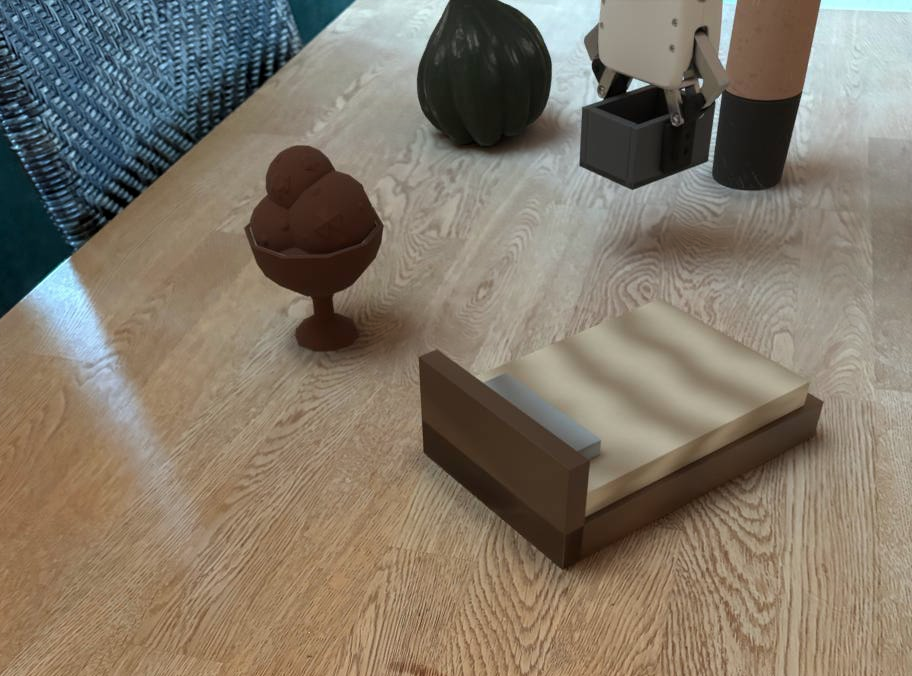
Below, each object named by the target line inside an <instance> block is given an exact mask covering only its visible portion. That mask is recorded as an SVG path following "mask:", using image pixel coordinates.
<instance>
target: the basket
mask: <svg viewBox="0 0 912 676" xmlns="http://www.w3.org/2000/svg"><path fill="white" fill-rule="evenodd" d="M628 91H629V92H628ZM628 91H627V92H626V93H623V94H620V95H617V96H614V97H611V98H608V99H605V100H603V99H601V100H599V101H595V102H592V103H590V104H587V105H584V106H582V107H581V123H580V141H579V142H580V143H579V144H580V145H579V164H578V165H579V167H580V168H582V169H584V170H587V171H589V172H591V173H594V174H596V175H598V176H600V177H602V178H604V179H607V180H609V181H611V182H613V183H616V184H618V185H620V186H622V187H624V188H626V189H629V190H631V191H634V190H637V189H640V188H642V187H644V186H647V185H650V184H653V183H655V182H658V181H661V180H663V179H666V178H669V177H671V176H674V175H677V174H679V173H681V172H684V171H687V170H690V169H692V168H695V167H697V166H701V165H703V164H705V163H708V162H709V159H710V158H709V157H710V155H709V154H710V149H711V142H712V133H713V127H714V120H715V113H716V112H715V111H716V104H717V102H716V101H715V103H714V104H713V105H712V106H711V107H710V108H709V109H708V110H707V111H706V112H705V113H704V116H703V117H702V118H700V119H697V120H696V128H695V136H694V144H693V152H692V160H691V163H690V165H689V166H687V167H685V168H682V169H679V170H677V171H674V172H671V173H669V174H664V173H662V172H661V171H660V162H661V152H662V143H663V133H664V127H665V124H668V123H671V121H670V116H669V111H668V107H667V102H666V98H665V93H664V89H663V88H659V87H656V86H653V85H651V84H647V85H644V86H641V87H638V88H635V89H632V90H628ZM680 95H681V99H682V104H683V105H684V104H685V103H686V102H687V98H686V93H685V89H681V90H680Z"/></svg>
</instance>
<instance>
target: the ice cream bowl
mask: <svg viewBox="0 0 912 676" xmlns="http://www.w3.org/2000/svg"><path fill="white" fill-rule="evenodd" d="M265 191H266V195H265V196H264V197H263V198H262V199H261V200H260V201H259V202H258V203H257V205H255V207H254V208H253V209H252V213H251V216H250V219H249V222H248V223H247V224H246V225H245V226H244V227H243V230H244V232H245V237H246V238H247V241H248V244H249V246H250V249H251V253H252V255H253V257H254V261H255V263H256V265H257V266H258V267H259V270H260V271H261V272H262V273H263V275H264V277H266V278H267V279H269V280H270V281H272V282H273V283H274V284H276V285H277V286H279V287H280V288H284V289H286V290H289V291H291V292H294V293H297V294H299V295H302V296H305V297H310V299H311V300H312V307H313V308H312V309H313V314H312V315H310V316H308V317H306V318H304V319H303V320H302V321H301V322H300V323H299V324H298V326H297V327H296V328H295V332H294V337H295V340H296V343H297V344H298V346H300V347H303V348H306V349H308V350H310V351H313V352H327V351H331V352H334V351H335V350H336V351H337V350H339V349H342V348H344V347H347V346H349V345H352V344H353V342H354V341H355V340H356V339H357V337H358V336H359V335H360V332H359V330H358V328H357V326H356V323H355V321H354V320H353V318H352V317H349V316H346V315H344V314H341V313H339V312H335V306H334V305H335V304H334V300H333V299H334V296H335V294H337V293H340V292H343V291H345V290H347V289H348V288H351V287H352V286H353V285H354V284H355V283H356V282H357V280H359V278H360V277H361V276H362V275H363V274H364V273H365V271H367V269H368V268H369V266H370V265H371V264H372V263H373V262H374V260H376V258H377V256H378V253H379V251H380V248H381V246H382V241H383V233H384V226H385V225H384V223H383V222H382V220H381V218H380V216H379V214H378V213H377V211H376V209H375V207H374V206H373V205H372V203H371V200H370V198H369V196H368V193H367V192H366V191H365V188H364V185H363V184H362V183H361V182H360V181H359V180H357V179H356V178H354V177H353V176H352V175H350V174H349V173H345V172H342V171H339V170H336V169H335V166H334V165H333V163H332V162H331V160H330V159H329V157H328V156H327V155H326V154H325V153H323V152H322V151H321V150H320V149H319V148H316V147H313V146H311V145H307V144H306V145H304V144H303V145H302V144H300V145H299V144H296V145H291V146H290V147H287V148H285V149H283V150H281V151H280V152H279V153H277V155H276V156H275V157H273V160H272V161H271V162H270V163H269V165H268V168H267V171H266V173H265Z"/></svg>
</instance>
